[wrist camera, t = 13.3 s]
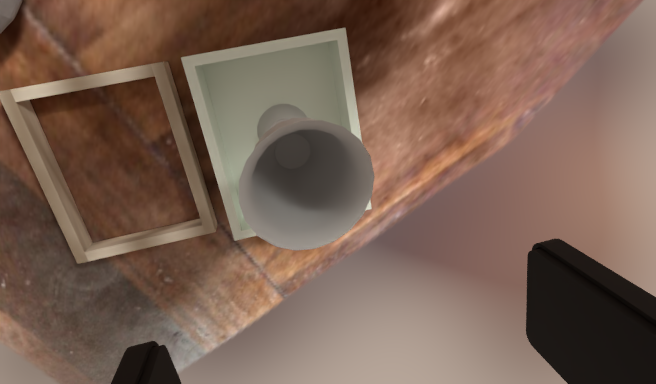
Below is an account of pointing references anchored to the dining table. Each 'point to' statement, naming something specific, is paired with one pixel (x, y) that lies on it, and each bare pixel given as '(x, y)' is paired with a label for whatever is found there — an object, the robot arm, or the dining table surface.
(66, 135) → the dining table surface
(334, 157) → the chalice
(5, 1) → the coffee pot
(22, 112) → the ash frame
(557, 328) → the robot arm
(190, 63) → the sage bin
